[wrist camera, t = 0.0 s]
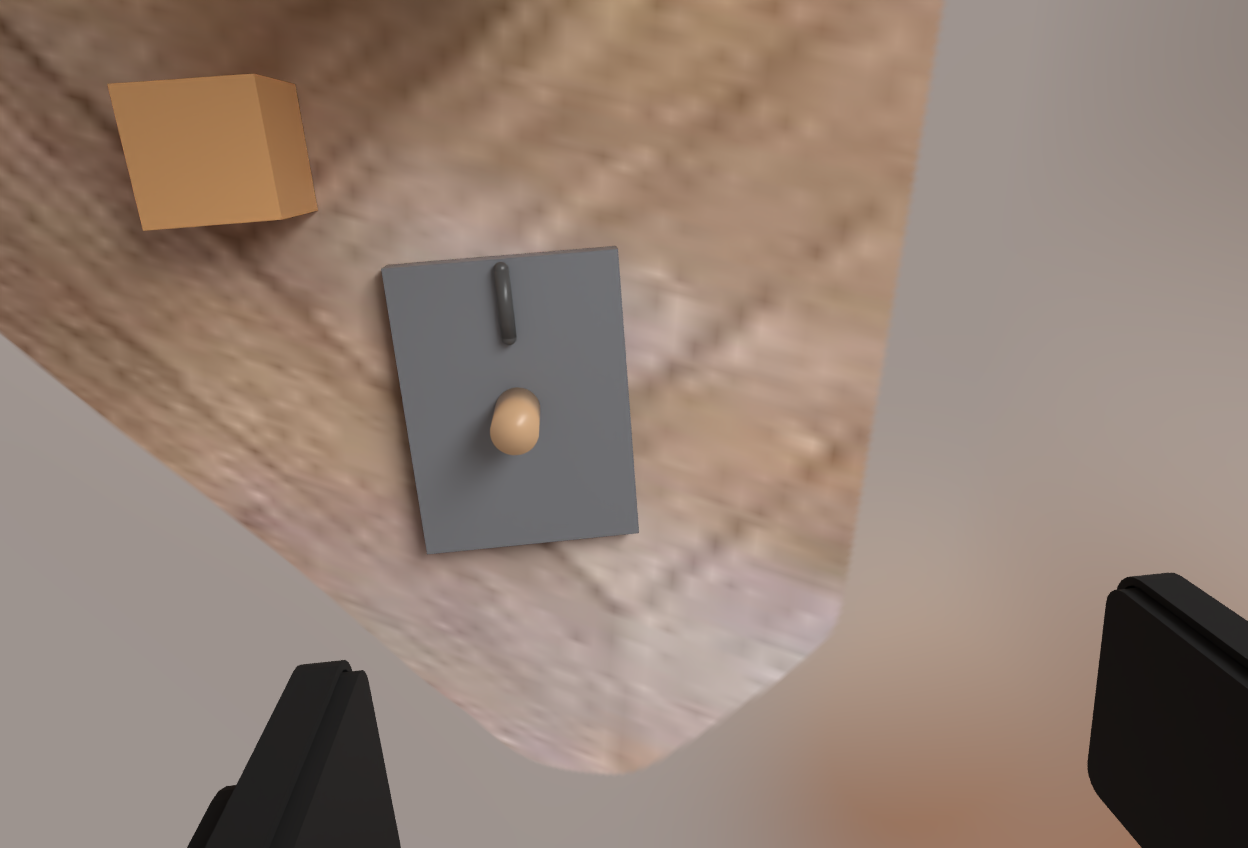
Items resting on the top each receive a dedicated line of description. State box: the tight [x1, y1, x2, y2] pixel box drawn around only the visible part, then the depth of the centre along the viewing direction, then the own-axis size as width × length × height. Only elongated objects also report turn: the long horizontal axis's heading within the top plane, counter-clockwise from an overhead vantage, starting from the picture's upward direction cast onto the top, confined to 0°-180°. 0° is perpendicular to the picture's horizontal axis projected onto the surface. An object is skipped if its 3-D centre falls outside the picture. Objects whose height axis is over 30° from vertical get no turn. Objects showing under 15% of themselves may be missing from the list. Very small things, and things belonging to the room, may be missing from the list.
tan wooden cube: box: [107, 74, 318, 231], centre depth 39 cm, size 6×6×6 cm
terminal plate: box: [381, 246, 639, 554], centre depth 45 cm, size 16×12×6 cm
